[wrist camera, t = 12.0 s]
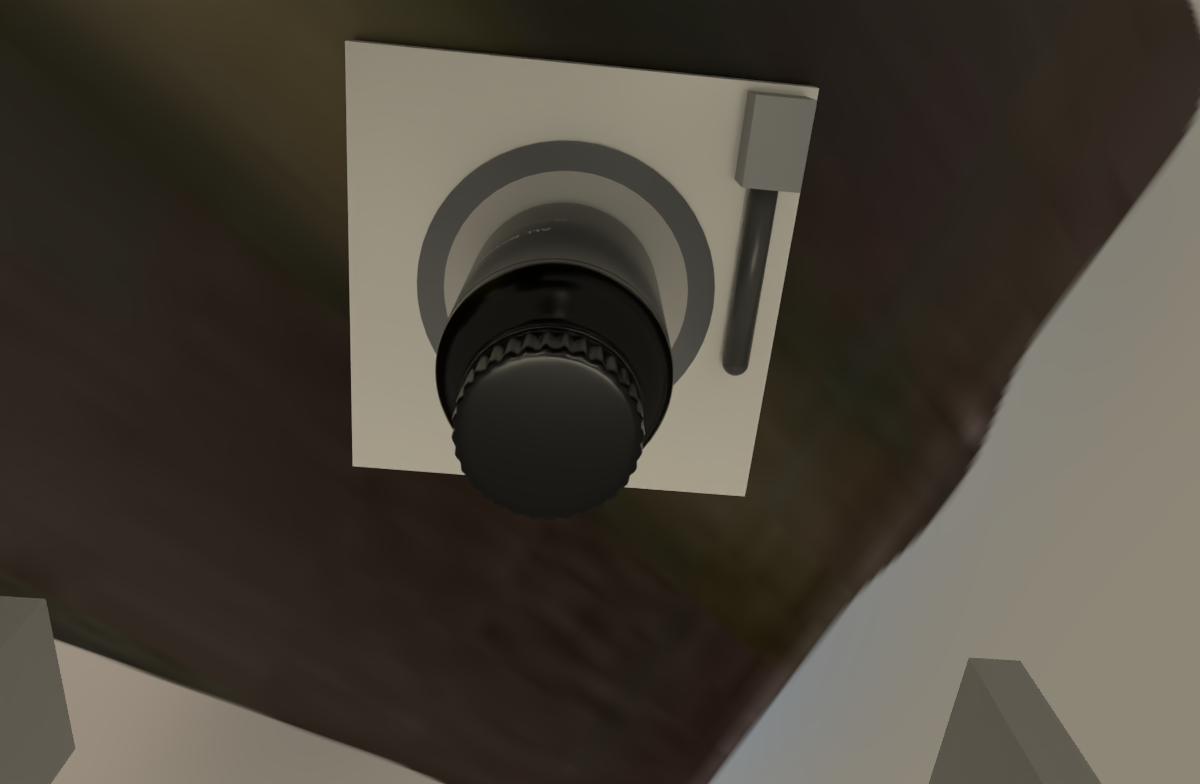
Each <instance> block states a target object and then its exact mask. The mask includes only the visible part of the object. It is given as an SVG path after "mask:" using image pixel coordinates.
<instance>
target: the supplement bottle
mask: <svg viewBox="0 0 1200 784" xmlns="http://www.w3.org/2000/svg"><path fill="white" fill-rule="evenodd" d="M673 380H674V372H673V357H672V350H671V345H670V340H669V335H668V330H667V326H666V321H665V316H664V311H663V306H662V302H661V297H660V292H659V287H658V283H657V279H656V275H655V271H654V268H653V265H652V262H651V260H650V258H649V256H648V254H647V252H646V250H645V249H644V247H643V245H642V244H641V242H640V241H639V240H638V238H637V237H636V236H635V235H634V234H633V233H632V231H631V230H630V229H629V228H627V227H626V226H625V225H624V224H623V223H622V222H620V221H619V220H617V219H616V218H614V217H613V216H611V215H609V214H608V213H606V212H603V211H601V210H599V209H596V208H593V207H591V206H587V205H582V204H577V203H565V202H560V203H549V204H543V205H539V206H535V207H532V208H529V209H527V210H524V211H522V212H520V213H518V214H516V215H515V216H513V217H511V218H510V219H508V220H507V221H506V222H504V223H503V224H502V225H501V226H500V227H499V228H498V229H497V230H496V231H495V232H494V233H493V234H492V235H491V236H490V237H489V238H488V240H487V241H486V243H485V244H484V246H483V247H482V249H481V251H480V253H479V254H478V256H477V258H476V260H475V262H474V264H473V266H472V268H471V270H470V273H469V275H468V277H467V279H466V281H465V283H464V285H463V287H462V290H461V292H460V294H459V296H458V298H457V300H456V302H455V305H454V307H453V309H452V311H451V313H450V315H449V317H448V320H447V322H446V324H445V327H444V329H443V331H442V335H441V338H440V342H439V345H438V349H437V355H436V363H435V381H436V388H437V393H438V397H439V401H440V405H441V407H442V410H443V413H444V415H445V417H446V419H447V421H448V423H449V425H450V426H451V428H452V430H453V432H452V436H451V437H452V440H453V443H454V445H455V446H456V447H455V456H456V458H457V459H458V460H459V461H460V463H461V471H462V472H463V473H464V474H465V475H466V476H468V477H469V480H470V483H471V485H472V486H473V487H475V488H477V489H479V490H480V492H481V494H482V495H483V497H484V498H486V499H490V500H492V501H493V502H494V503H495V504H496V505H497V506H498V507H500V508H505V509H508V510H509V511H511V512H512V513H514V514H515V515H526V516H527V517H529V518H532V519H537V518H544V519H548V520H553V519H556V518H567V519H569V518H571V517H573V516H574V515H576V514H586V513H588V512H589V511H590V510H591V509H593V508H598V507H602V506H603V505H604V503H605V502H606V501H607V500H609V499H612V498H614V497H616V496H617V494H618V492H619V490H620V489H621V488H623V487H625V486H626V485H627V484H628V482H629V478H630V475H631V474H633V473H634V472H635V471H636V469H637V460H638V459H639V458H640V456H641V455H642V452H643V449H644V448H645V447H646V445H647V444H648V443H649V442H650V441H651V440H652V438H653V437H654V435H655V434H656V432H657V431H658V429H659V427H660V426H661V424H662V422H663V420H664V417H665V415H666V413H667V410H668V407H669V404H670V401H671V396H672V391H673Z"/></svg>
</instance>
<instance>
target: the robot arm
mask: <svg viewBox="0 0 1200 784" xmlns="http://www.w3.org/2000/svg"><path fill="white" fill-rule="evenodd" d="M74 750H75V745H74V740H73V735H72V730H71V725H70V720H69V715H68V710H67V704H66V700H65V694H64V689H63V684H62V679H61V674H60V669H59V664H58V660H57V654H56V649H55V644H54V639H53V634H52V629H51V624H50V619H49V614H48V609H47V604H46V599H36V598H20V597H5V596H0V784H51V783H52V781H53V780H54V778H55V777H56V775H57V774H58V773H59V771H60V770H61V768H62V767H63V765H64V764H65V763H66V761H67V760H68V758H69V757H70V755H71V754H72V752H73V751H74ZM929 784H1101V782H1100V781H1099V779H1098V778H1097V776H1096V775H1095V773H1094V772H1093V770H1092V769H1091V767H1090V766H1089V764H1088V763H1087V761H1086V760H1085V758H1084V757H1083V755H1082V754H1081V752H1080V751H1079V749H1078V748H1077V746H1076V745H1075V743H1074V742H1073V740H1072V739H1071V737H1070V736H1069V734H1068V733H1067V731H1066V730H1065V728H1064V726H1063V725H1062V723H1061V722H1060V720H1059V719H1058V717H1057V716H1056V714H1055V713H1054V711H1053V710H1052V708H1051V707H1050V705H1049V704H1048V702H1047V701H1046V699H1045V698H1044V696H1043V695H1042V693H1041V692H1040V690H1039V689H1038V687H1037V685H1036V684H1035V682H1034V681H1033V679H1032V678H1031V676H1030V675H1029V673H1028V672H1027V670H1026V669H1025V668H1024V666H1023V664H1022V663H1021V661H1013V660H997V659H982V658H969V660H968V662H967V666H966V669H965V672H964V675H963V678H962V682H961V684H960V688H959V691H958V694H957V697H956V700H955V703H954V706H953V709H952V713H951V716H950V719H949V722H948V725H947V728H946V732H945V735H944V738H943V741H942V744H941V747H940V750H939V753H938V757H937V760H936V763H935V766H934V769H933V772H932V776H931V779H930V782H929Z"/></svg>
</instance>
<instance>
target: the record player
mask: <svg viewBox="0 0 1200 784" xmlns="http://www.w3.org/2000/svg"><path fill="white" fill-rule="evenodd" d="M345 70H346V125H347V179H348V234H349V288H350V342H351V397H352V451H353V466H358V467H371V468H384V469H397V470H410V471H423V472H436V473H449V474H462V475H465V474H464V473H463V472H462V471H461V463H460V461H459V460H458V459H457V458H456V456H455V447H456V446H455V445H454V443H453V440H452V437H451V436H452V432H453V430H452V428H451V426H450V425H449V423H448V421H447V419H446V417H445V415H444V413H443V410H442V407H441V405H440V401H439V397H438V393H437V388H436V381H435V363H436V355H437V349H438V345H439V342H440V338H441V335H442V331H443V329H444V327H445V324H446V322H447V320H448V317H449V315H450V313H451V311H452V309H453V307H454V305H455V302H456V300H457V298H458V296H459V294H460V292H461V290H462V287H463V285H464V283H465V281H466V279H467V277H468V275H469V273H470V270H471V268H472V266H473V264H474V262H475V260H476V258H477V256H478V254H479V253H480V251H481V249H482V247H483V246H484V244H485V243H486V241H487V240H488V238H489V237H490V236H491V235H492V234H493V233H494V232H495V231H496V230H497V229H498V228H499V227H500V226H501V225H502V224H503V223H504V222H506V221H507V220H508V219H510V218H511V217H513V216H515V215H516V214H518V213H520V212H522V211H524V210H527V209H529V208H532V207H535V206H539V205H543V204H549V203H560V202H565V203H577V204H582V205H587V206H591V207H593V208H596V209H599V210H601V211H603V212H606V213H608V214H609V215H611V216H613V217H614V218H616V219H617V220H619V221H620V222H622V223H623V224H624V225H625V226H626V227H627V228H629V229H630V230H631V231H632V233H633V234H634V235H635V236H636V237H637V238H638V240H639V241H640V242H641V244H642V245H643V247H644V249H645V250H646V252H647V254H648V256H649V258H650V260H651V262H652V265H653V268H654V271H655V275H656V279H657V283H658V287H659V292H660V297H661V302H662V306H663V311H664V316H665V321H666V326H667V330H668V335H669V340H670V345H671V350H672V357H673V372H674V380H673V391H672V396H671V401H670V404H669V407H668V410H667V413H666V415H665V417H664V420H663V422H662V424H661V426H660V427H659V429H658V431H657V432H656V434H655V435H654V437H653V438H652V440H651V441H650V442H649V443H648V444H647V445H646V447H645V448H644V449H643V452H642V455H641V456H640V458H639V459H638V460H637V469H636V471H635V472H634V473H633V474H631V475H630V478H629V482H628V484H627V485H626V486H625V487H630V488H643V489H656V490H669V491H682V492H695V493H708V494H721V495H734V496H745V492H746V487H747V481H748V476H749V470H750V465H751V459H752V454H753V448H754V443H755V437H756V432H757V426H758V421H759V416H760V410H761V405H762V399H763V394H764V388H765V383H766V377H767V372H768V366H769V361H770V355H771V350H772V344H773V339H774V333H775V328H776V322H777V317H778V311H779V306H780V300H781V295H782V289H783V284H784V278H785V273H786V267H787V262H788V256H789V251H790V245H791V240H792V234H793V229H794V223H795V218H796V212H797V207H798V201H799V196H800V191H801V186H802V181H803V175H804V170H805V164H806V159H807V153H808V148H809V142H810V137H811V131H812V126H813V120H814V115H815V109H816V104H817V97H818V92H819V88H817V87H814V86H811V85H801V84H791V83H781V82H771V81H761V80H751V79H741V78H731V77H721V76H711V75H701V74H691V73H681V72H671V71H661V70H651V69H641V68H631V67H621V66H611V65H601V64H591V63H581V62H571V61H561V60H551V59H541V58H531V57H521V56H511V55H501V54H491V53H480V52H470V51H460V50H450V49H440V48H430V47H420V46H410V45H400V44H390V43H380V42H370V41H360V40H348V41H345Z"/></svg>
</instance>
